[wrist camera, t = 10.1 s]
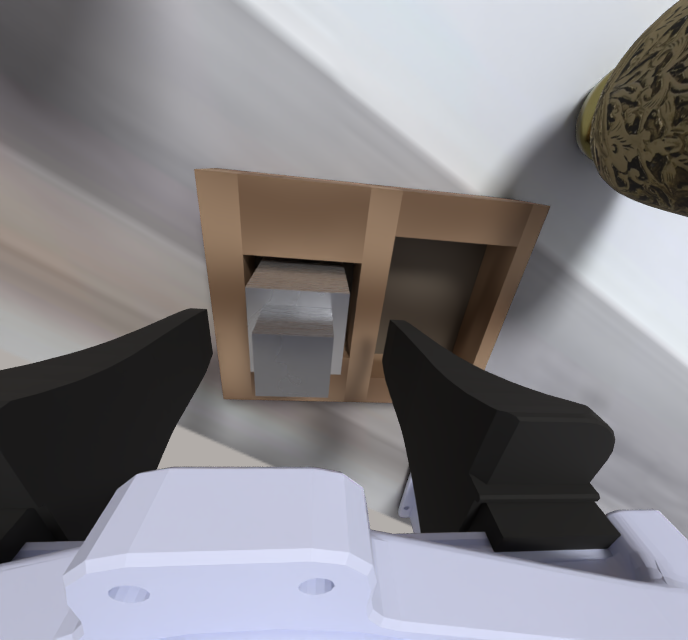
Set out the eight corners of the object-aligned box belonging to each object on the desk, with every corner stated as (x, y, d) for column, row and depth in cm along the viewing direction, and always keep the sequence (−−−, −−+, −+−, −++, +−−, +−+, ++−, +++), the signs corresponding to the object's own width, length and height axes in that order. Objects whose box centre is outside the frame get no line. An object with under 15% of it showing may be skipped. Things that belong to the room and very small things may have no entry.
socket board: (453, 377, 19) (470, 404, 17) (235, 369, 18) (223, 399, 16) (514, 199, 14) (550, 205, 12) (216, 168, 13) (194, 169, 10)
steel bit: (335, 317, 16) (344, 410, 10) (269, 314, 16) (238, 408, 10) (341, 254, 15) (355, 321, 8) (268, 249, 14) (228, 314, 8)
